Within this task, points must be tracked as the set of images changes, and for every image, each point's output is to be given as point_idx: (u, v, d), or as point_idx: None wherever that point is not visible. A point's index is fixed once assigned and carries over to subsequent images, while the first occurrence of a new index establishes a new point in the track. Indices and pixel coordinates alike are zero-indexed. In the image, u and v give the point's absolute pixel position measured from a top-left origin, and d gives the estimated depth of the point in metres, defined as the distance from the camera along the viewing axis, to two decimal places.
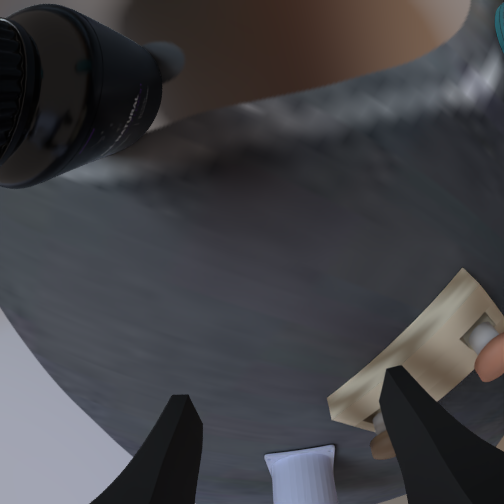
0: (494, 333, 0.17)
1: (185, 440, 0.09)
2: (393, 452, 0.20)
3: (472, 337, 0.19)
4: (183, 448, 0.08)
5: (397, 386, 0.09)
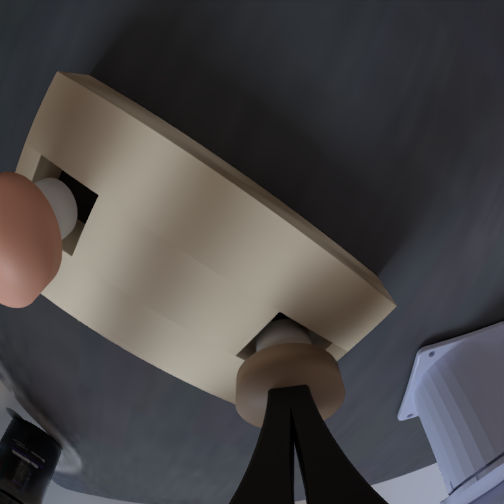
0: None
1: (291, 434, 0.09)
2: None
3: None
4: (291, 443, 0.08)
5: (291, 407, 0.09)
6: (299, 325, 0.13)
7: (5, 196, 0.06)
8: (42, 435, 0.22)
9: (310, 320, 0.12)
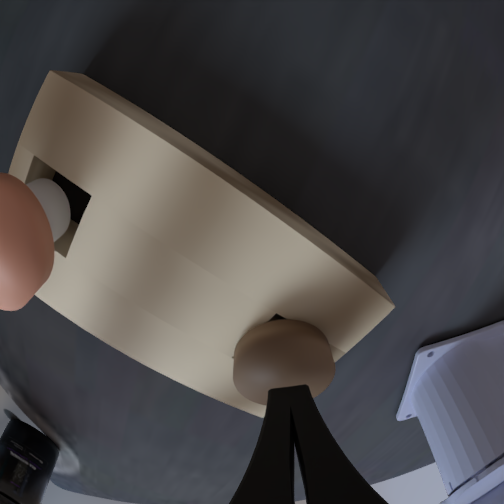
0: None
1: (291, 434, 0.09)
2: (305, 375, 0.11)
3: None
4: (291, 443, 0.08)
5: (291, 407, 0.09)
6: None
7: None
8: (40, 436, 0.21)
9: (307, 321, 0.12)
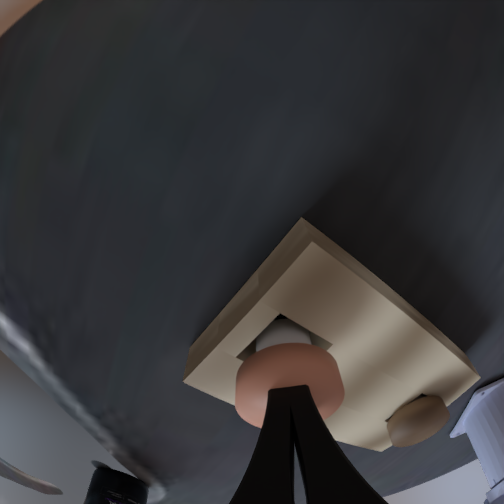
0: None
1: (291, 434, 0.09)
2: (432, 426, 0.14)
3: None
4: (291, 443, 0.08)
5: (291, 407, 0.09)
6: None
7: (329, 375, 0.10)
8: (135, 481, 0.24)
9: (435, 394, 0.15)
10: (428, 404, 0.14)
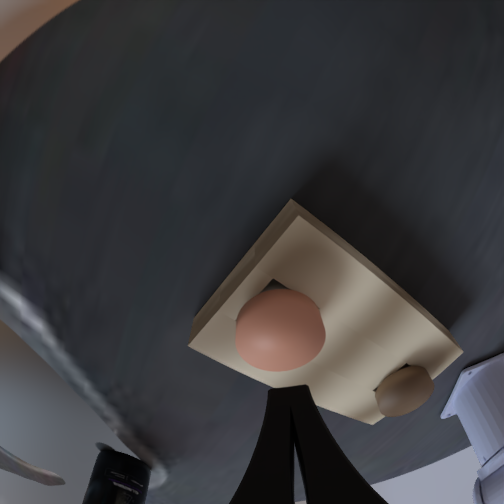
0: None
1: (291, 434, 0.09)
2: (418, 396, 0.17)
3: None
4: (291, 443, 0.08)
5: (291, 407, 0.09)
6: None
7: (311, 314, 0.13)
8: (138, 463, 0.27)
9: (420, 365, 0.17)
10: (412, 373, 0.16)
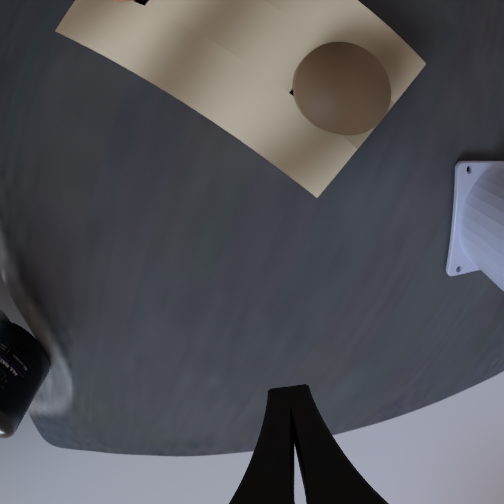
0: None
1: (291, 434, 0.09)
2: (364, 88, 0.11)
3: None
4: (291, 442, 0.08)
5: (291, 407, 0.09)
6: None
7: None
8: (29, 338, 0.21)
9: None
10: None
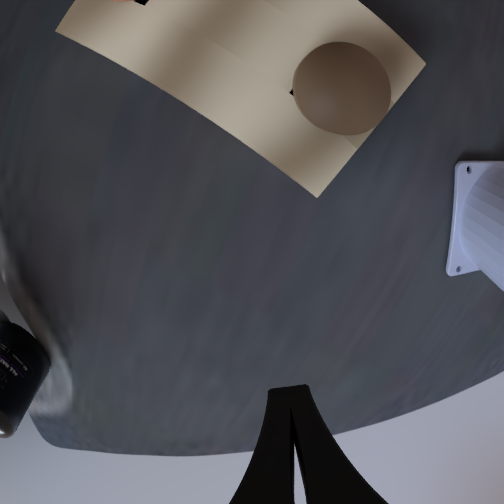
0: None
1: (291, 434, 0.09)
2: (364, 88, 0.11)
3: None
4: (291, 442, 0.08)
5: (291, 407, 0.09)
6: None
7: None
8: (29, 338, 0.21)
9: None
10: None
